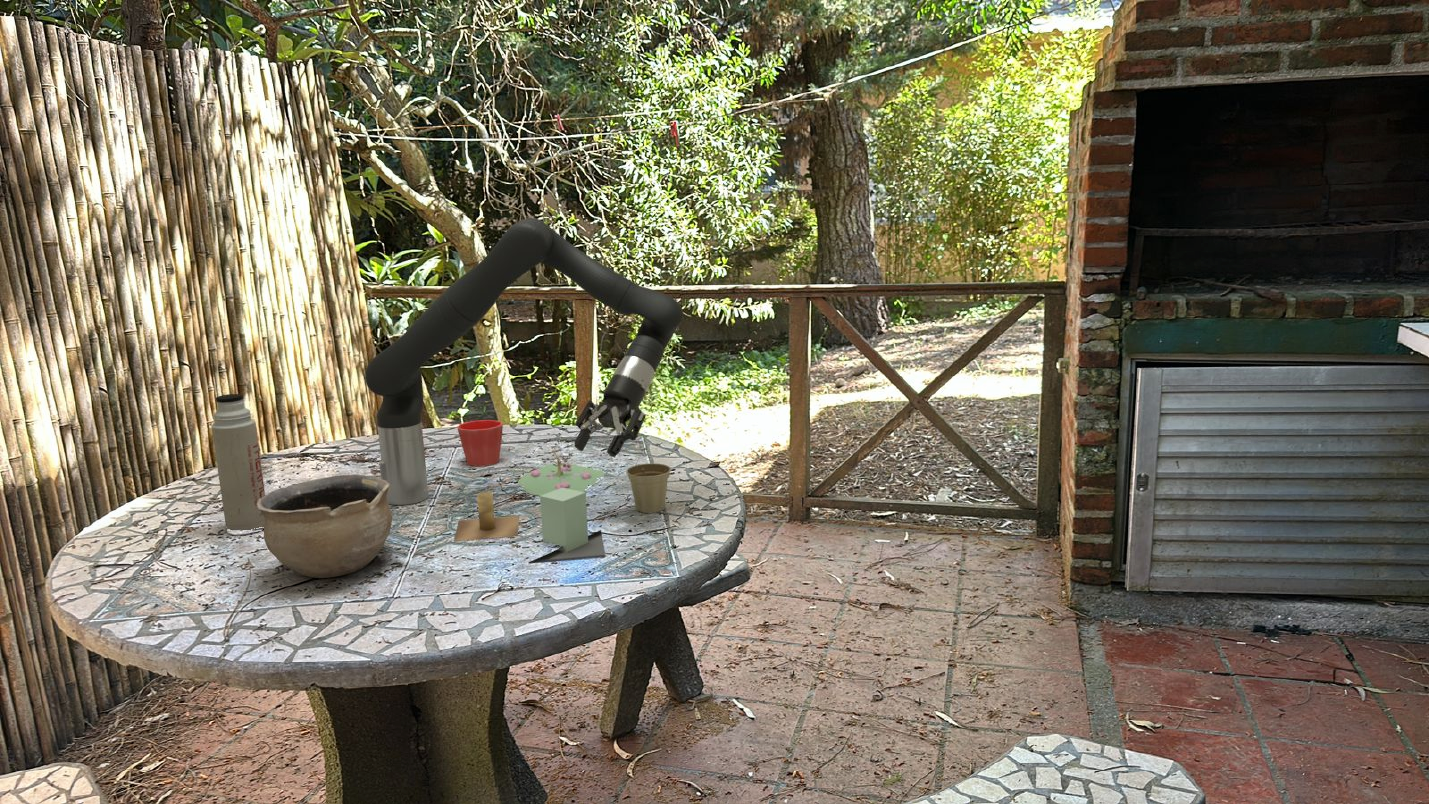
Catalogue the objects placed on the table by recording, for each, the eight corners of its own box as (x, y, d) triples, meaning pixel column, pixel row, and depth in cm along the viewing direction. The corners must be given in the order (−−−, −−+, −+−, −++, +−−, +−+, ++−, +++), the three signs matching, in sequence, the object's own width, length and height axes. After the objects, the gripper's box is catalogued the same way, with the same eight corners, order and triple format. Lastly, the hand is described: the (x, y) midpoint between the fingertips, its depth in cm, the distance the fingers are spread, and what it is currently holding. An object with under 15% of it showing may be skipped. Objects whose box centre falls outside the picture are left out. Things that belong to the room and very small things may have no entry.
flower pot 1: (470, 456, 251) (467, 419, 249) (511, 456, 249) (508, 419, 247) (453, 468, 241) (450, 429, 239) (496, 468, 239) (493, 430, 237)
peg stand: (454, 548, 187) (450, 506, 185) (459, 527, 199) (455, 487, 197) (518, 543, 189) (515, 501, 187) (519, 522, 201) (516, 482, 199)
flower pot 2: (638, 519, 201) (636, 478, 199) (620, 506, 209) (619, 467, 207) (679, 511, 205) (678, 471, 203) (661, 499, 213) (659, 460, 211)
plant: (609, 498, 216) (607, 459, 214) (514, 506, 213) (511, 466, 211) (602, 467, 240) (600, 431, 238) (516, 473, 237) (513, 437, 235)
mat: (528, 563, 179) (528, 561, 179) (529, 537, 192) (528, 535, 192) (605, 556, 181) (605, 554, 181) (600, 530, 194) (600, 529, 194)
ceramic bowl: (319, 603, 164) (308, 518, 161) (241, 578, 175) (230, 498, 172) (422, 559, 182) (414, 481, 179) (345, 539, 194) (337, 466, 190)
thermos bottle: (277, 522, 204) (260, 391, 198) (252, 536, 197) (233, 400, 191) (243, 521, 206) (225, 390, 200) (217, 534, 198) (197, 399, 192)
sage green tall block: (566, 552, 182) (563, 501, 180) (543, 546, 186) (539, 496, 184) (588, 542, 187) (585, 492, 185) (565, 536, 191) (562, 487, 188)
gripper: (593, 369, 199) (557, 437, 193) (648, 376, 191) (612, 446, 184) (612, 390, 204) (577, 456, 198) (666, 397, 196) (631, 467, 190)
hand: (594, 451), depth 191 cm, fingers open, 8 cm apart
